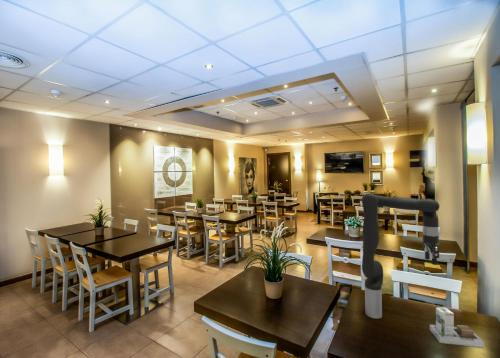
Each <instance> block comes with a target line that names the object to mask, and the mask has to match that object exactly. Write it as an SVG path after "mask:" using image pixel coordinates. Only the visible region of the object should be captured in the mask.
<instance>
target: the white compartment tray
mask: <svg viewBox="0 0 500 358" xmlns="http://www.w3.org/2000/svg"><path fill="white" fill-rule="evenodd" d="M429 331H430V332H431V333H432V335H434V337H435V338H436V340H437V341H438V342H439V344H447V345H455V346H456V345H457V346H464V347H472V348H473V347H474V348H481V349H482V348H483V349H484V347H485V346H484V341H483V340H482V339H481V338H480V337H479V336H478V335H477V334H476V333H475V332H474V339H472V338H462V337H460V336H459V335H458V334H457V326H454V337H453V336H443V335H440V334H439V332H438V331H437V330H436V324H429Z"/></svg>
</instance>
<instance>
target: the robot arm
mask: <svg viewBox="0 0 500 358" xmlns="http://www.w3.org/2000/svg"><path fill="white" fill-rule="evenodd" d="M361 204H362V209H363V222H362V258H361V259H362V261H361V263H362V264H361V269H362V273H363V275H364V277H366V278H367V279H366V280H365V282H364V302H365V303H364V305H365V306H364V307H365V310H364V311H365V315H366V316H367V317H368V318H371V319H381V318H382V317H383V316H382V315H383V311H382V310H383V305H382V302H383V301H382V299H383V298H382V297H383V296H382V287H383V282H384V267H383V265H382V263H381V262H380V261H378V260H375V253H376V252H377V248H378V246H379V243H380V227H379V221H378V211H379V208H380V207H384V208H385V207H386V208H393V209H397V210H404V211H405V210H406V211H407V210H409V211H420V212H422V251H423V252H424V259H425V260H430V259H431V265H433V266H434V265H435V266H436V265H438V259H440V247H439V246H436V244H439V242H440V241H439V240H440V237H439V235H440V233H439V218H438V216H437V211H439V209H440V203H439V202H438V201H436V200H434V199H432V198H426V199H418V198H415V197H414V198H412V197H398V196H397V197H395V196H394V197H393V196H385V195H384V196H383V195H378V194H373V193H368V192H367V193H365V194H364V195H362V197H361ZM430 255H431V257H430Z"/></svg>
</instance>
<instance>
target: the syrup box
mask: <svg viewBox="0 0 500 358" xmlns="http://www.w3.org/2000/svg"><path fill="white" fill-rule="evenodd" d="M454 316H455V314H454V312H452V311H451V310H450V309H449V308H448V307H435V325H436V330H437V331H438V332H439V334H440V335H443V336H453V337H454V327H455V325H454V324H455V322H454V321H455V320H454V319H455V317H454Z"/></svg>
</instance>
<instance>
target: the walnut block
mask: <svg viewBox="0 0 500 358" xmlns="http://www.w3.org/2000/svg"><path fill="white" fill-rule="evenodd" d="M456 327H457V334H458V335H459V336H460V337H462V338H472V339H474V333H475V331H474V330H473V329H471V327H469V326H468V325H461V324H456Z"/></svg>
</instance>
